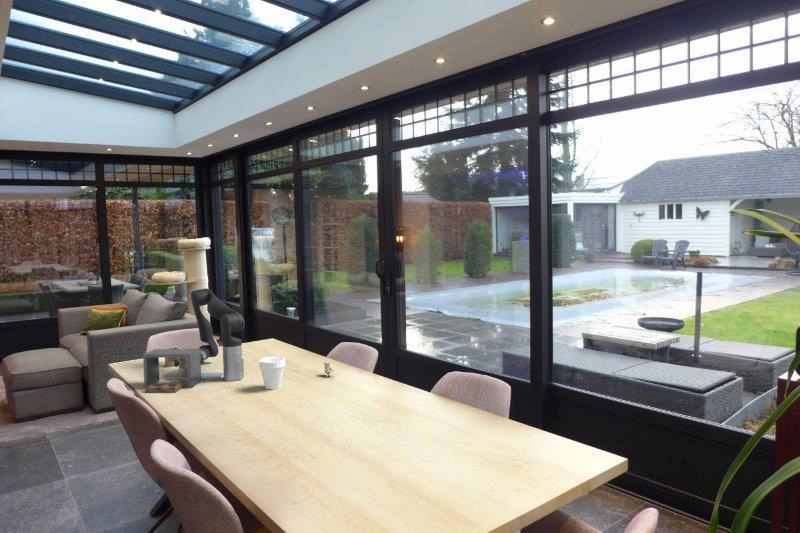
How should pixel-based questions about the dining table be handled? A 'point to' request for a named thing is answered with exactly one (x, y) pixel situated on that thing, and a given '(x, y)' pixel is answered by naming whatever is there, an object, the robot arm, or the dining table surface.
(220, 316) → the robot arm
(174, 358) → the lighter
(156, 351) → the tunnel
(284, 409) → the dining table surface
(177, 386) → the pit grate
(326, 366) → the architectural model
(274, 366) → the cup
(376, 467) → the dining table surface
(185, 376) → the maple block
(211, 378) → the mat
